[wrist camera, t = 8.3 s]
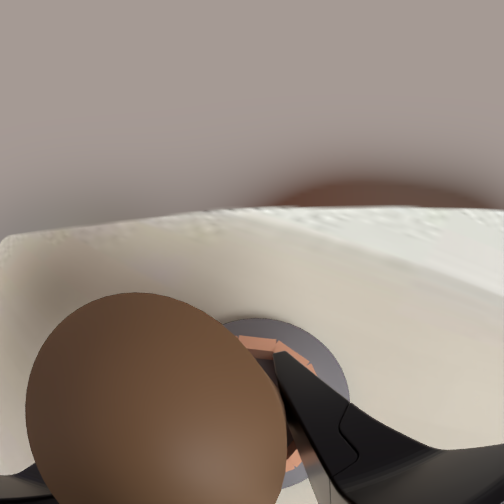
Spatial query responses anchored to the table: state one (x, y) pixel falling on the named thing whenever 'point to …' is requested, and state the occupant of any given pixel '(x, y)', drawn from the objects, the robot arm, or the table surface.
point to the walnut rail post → (153, 409)
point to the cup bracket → (302, 349)
